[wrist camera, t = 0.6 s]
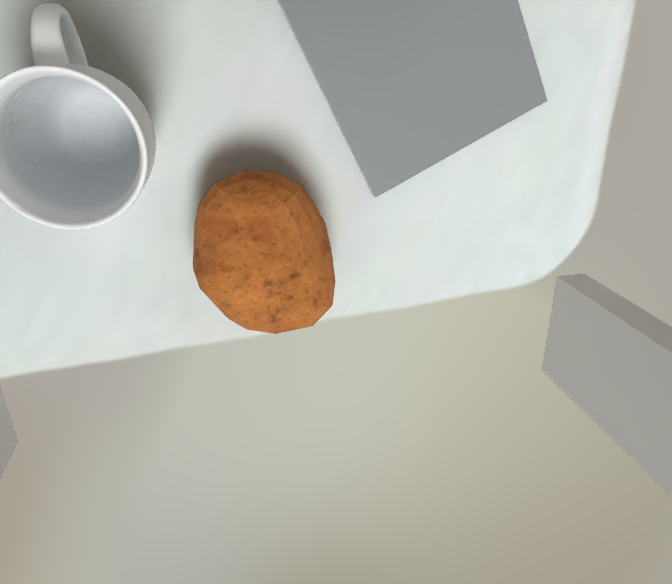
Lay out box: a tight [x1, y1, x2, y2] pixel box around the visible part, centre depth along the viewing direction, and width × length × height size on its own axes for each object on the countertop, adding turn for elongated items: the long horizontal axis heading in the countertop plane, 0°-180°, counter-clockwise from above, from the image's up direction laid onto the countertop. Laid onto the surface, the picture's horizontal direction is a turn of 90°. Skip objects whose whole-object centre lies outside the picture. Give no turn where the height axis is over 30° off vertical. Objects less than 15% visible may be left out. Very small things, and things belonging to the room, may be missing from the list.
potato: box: [193, 170, 335, 334], centre depth 36 cm, size 9×11×8 cm
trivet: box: [278, 0, 547, 197], centre depth 36 cm, size 14×14×1 cm
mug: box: [0, 3, 156, 230], centre depth 30 cm, size 11×8×9 cm
